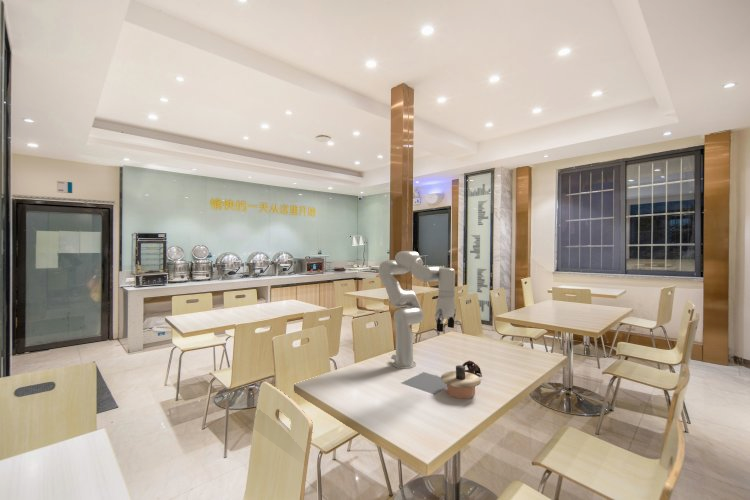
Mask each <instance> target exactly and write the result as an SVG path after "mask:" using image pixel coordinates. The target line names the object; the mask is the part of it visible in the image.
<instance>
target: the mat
mask: <svg viewBox="0 0 750 500" xmlns="http://www.w3.org/2000/svg"><path fill="white" fill-rule="evenodd" d="M401 384H402V385H405V386H409V387H410V388H411V387H412V388H414V389H418V390H420V391H424V392H426V393H429V394H433V395H437V394H438V393H440V392H441V391H443V390H445V389H447V384H446V383H444V382H443V381H442V380H441V376H439V375H435V374H431V373H428V372H425V371H423V372H421V373H418V374H416V375H414V376H413V377H411V378H408V379H406V380H404V381H402V382H401Z"/></svg>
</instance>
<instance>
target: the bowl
mask: <svg viewBox="0 0 750 500" xmlns="http://www.w3.org/2000/svg"><path fill="white" fill-rule="evenodd" d="M446 393H447V394H448V395H449V396H451V397H454V398H457V399H471V398H473V397H475V395H476V386H475V387H470V388H461V387H454V386H450V385H448V384H447V388H446Z"/></svg>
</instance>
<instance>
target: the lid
mask: <svg viewBox="0 0 750 500" xmlns="http://www.w3.org/2000/svg"><path fill="white" fill-rule="evenodd" d="M465 370H466V366H462V365H456V366H455V370H454V371H447V372H444V373H442V375H441V376H440V377H441V380H442V381H443V382H444V383H446V384H448V385H450V386H454V387H461V388H470V387H475V388H476V387H478V386H479V385H481V382H482V381H481V380H482V379H481V378H480V377H479V375H476V374H472V373H468V372H465Z"/></svg>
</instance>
